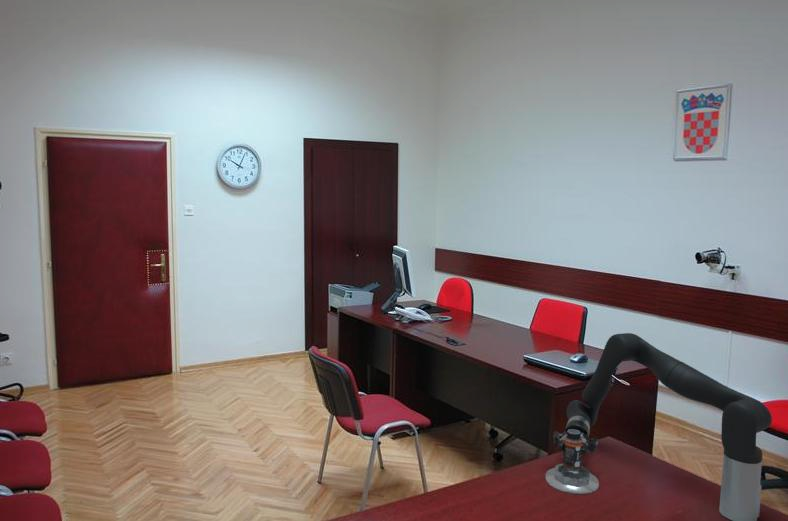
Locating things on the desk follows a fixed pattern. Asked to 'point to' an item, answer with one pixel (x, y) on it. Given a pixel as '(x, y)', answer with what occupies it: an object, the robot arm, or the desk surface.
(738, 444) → the robot arm
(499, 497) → the desk surface
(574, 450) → the supplement bottle
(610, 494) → the desk surface
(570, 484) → the steel collar
